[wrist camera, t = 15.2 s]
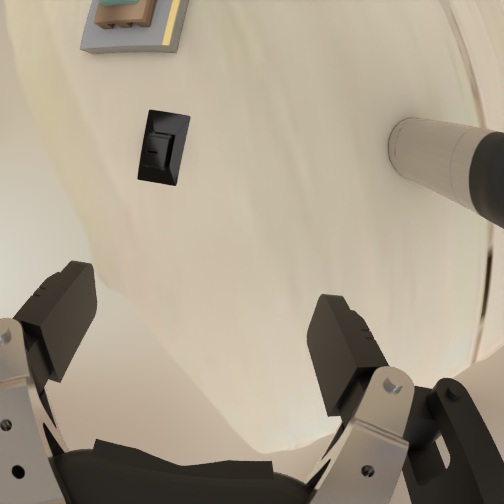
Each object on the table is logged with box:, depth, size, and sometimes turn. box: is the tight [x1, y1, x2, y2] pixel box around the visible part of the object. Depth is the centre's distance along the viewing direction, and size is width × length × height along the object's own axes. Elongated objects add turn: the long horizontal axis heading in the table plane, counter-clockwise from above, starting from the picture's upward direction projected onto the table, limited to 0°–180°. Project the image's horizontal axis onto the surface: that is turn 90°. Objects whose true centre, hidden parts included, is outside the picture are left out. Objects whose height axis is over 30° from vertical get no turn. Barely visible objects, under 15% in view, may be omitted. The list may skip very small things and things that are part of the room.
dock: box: [80, 0, 189, 54], centre depth 25 cm, size 12×14×4 cm
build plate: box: [137, 110, 190, 186], centre depth 34 cm, size 12×7×5 cm, turn 166°
